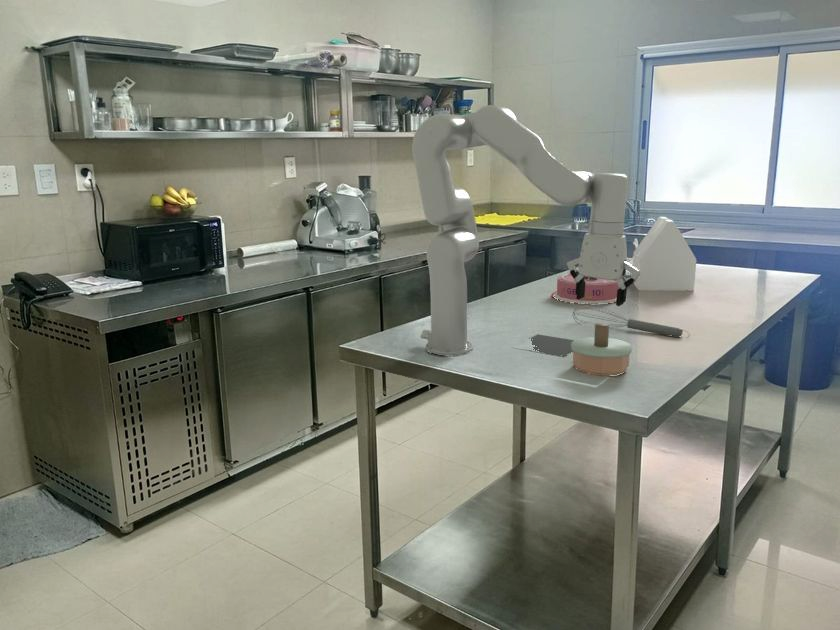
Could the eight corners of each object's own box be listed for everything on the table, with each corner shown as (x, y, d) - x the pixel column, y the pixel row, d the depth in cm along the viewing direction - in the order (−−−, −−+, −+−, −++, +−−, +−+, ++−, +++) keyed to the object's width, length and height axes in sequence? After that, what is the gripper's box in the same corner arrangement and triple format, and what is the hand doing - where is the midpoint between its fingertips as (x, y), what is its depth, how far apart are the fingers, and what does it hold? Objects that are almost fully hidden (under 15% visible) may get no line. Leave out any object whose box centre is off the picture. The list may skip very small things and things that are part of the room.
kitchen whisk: (686, 342, 180) (688, 319, 179) (568, 326, 199) (569, 305, 198) (692, 336, 185) (693, 314, 184) (576, 321, 204) (577, 301, 202)
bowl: (566, 371, 159) (567, 351, 158) (586, 357, 168) (587, 338, 167) (615, 380, 152) (616, 359, 151) (633, 366, 161) (634, 346, 160)
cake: (542, 302, 229) (543, 271, 226) (561, 288, 251) (561, 260, 248) (617, 308, 218) (619, 276, 216) (629, 293, 240) (631, 263, 237)
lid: (561, 351, 158) (561, 327, 156) (585, 337, 168) (585, 314, 167) (618, 361, 149) (620, 336, 148) (640, 345, 160) (641, 322, 159)
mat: (511, 348, 177) (511, 347, 177) (537, 335, 188) (537, 334, 188) (564, 358, 168) (564, 357, 168) (587, 343, 180) (587, 342, 180)
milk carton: (683, 282, 255) (688, 216, 249) (693, 290, 240) (699, 221, 234) (631, 281, 258) (635, 216, 252) (638, 290, 243) (642, 221, 237)
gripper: (564, 226, 154) (558, 298, 158) (638, 234, 144) (630, 310, 148) (577, 223, 160) (571, 293, 164) (649, 230, 150) (641, 304, 154)
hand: (599, 301), depth 156 cm, fingers open, 9 cm apart
